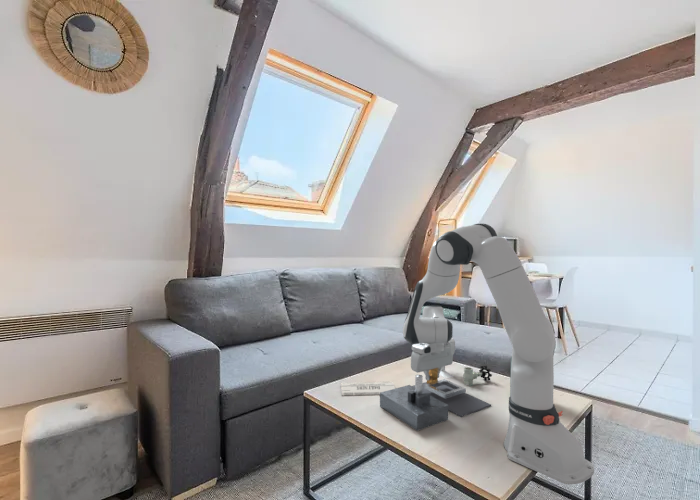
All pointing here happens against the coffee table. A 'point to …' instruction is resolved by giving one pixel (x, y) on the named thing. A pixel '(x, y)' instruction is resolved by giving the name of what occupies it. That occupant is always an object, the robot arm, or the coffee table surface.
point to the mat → (458, 401)
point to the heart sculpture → (443, 372)
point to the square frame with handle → (435, 383)
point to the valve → (475, 375)
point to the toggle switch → (414, 405)
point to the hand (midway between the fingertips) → (432, 378)
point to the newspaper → (365, 388)
